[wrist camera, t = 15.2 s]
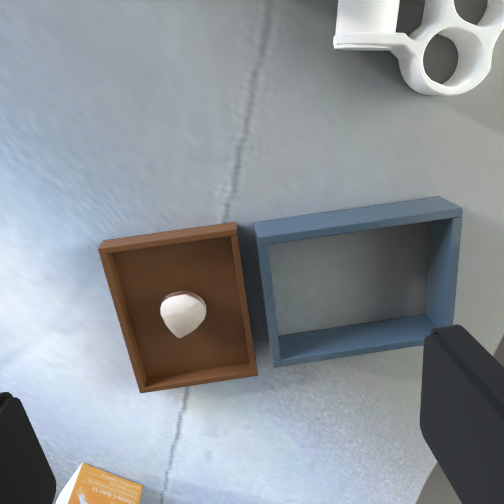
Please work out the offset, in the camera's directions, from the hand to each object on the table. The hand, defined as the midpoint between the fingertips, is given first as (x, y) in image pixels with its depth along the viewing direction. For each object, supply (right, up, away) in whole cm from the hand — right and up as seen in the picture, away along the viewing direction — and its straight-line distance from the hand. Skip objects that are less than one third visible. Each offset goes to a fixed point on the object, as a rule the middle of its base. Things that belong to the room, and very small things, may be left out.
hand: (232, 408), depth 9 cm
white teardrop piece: (-6, -2, +31) cm, 31 cm away
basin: (+10, +1, +31) cm, 33 cm away
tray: (-6, -2, +31) cm, 32 cm away
